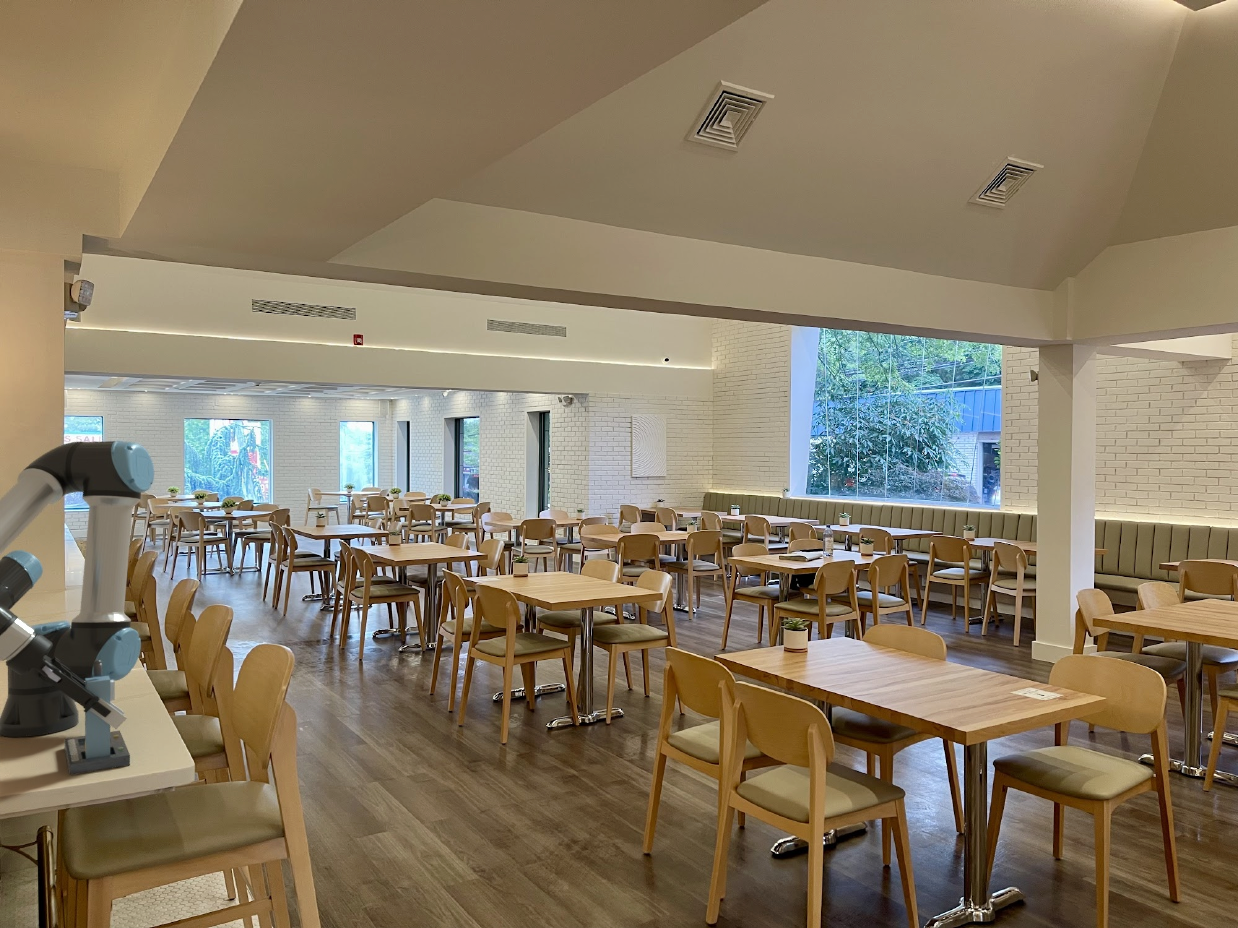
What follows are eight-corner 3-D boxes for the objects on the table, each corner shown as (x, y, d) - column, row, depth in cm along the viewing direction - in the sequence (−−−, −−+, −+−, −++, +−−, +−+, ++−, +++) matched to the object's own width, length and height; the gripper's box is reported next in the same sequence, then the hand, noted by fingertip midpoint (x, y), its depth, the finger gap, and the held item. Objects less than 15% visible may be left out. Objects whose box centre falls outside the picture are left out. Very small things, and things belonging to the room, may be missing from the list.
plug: (84, 754, 175) (85, 659, 175) (113, 750, 178) (113, 656, 178) (86, 759, 172) (86, 662, 172) (114, 755, 174) (115, 659, 175)
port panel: (64, 748, 184) (64, 737, 184) (119, 739, 190) (119, 728, 190) (69, 775, 168) (69, 762, 168) (129, 765, 173) (129, 753, 173)
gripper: (3, 655, 173) (101, 726, 182) (2, 671, 159) (108, 747, 168) (36, 625, 176) (130, 696, 185) (38, 638, 162) (140, 714, 171)
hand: (120, 720), depth 177 cm, fingers closed on plug, 4 cm apart
